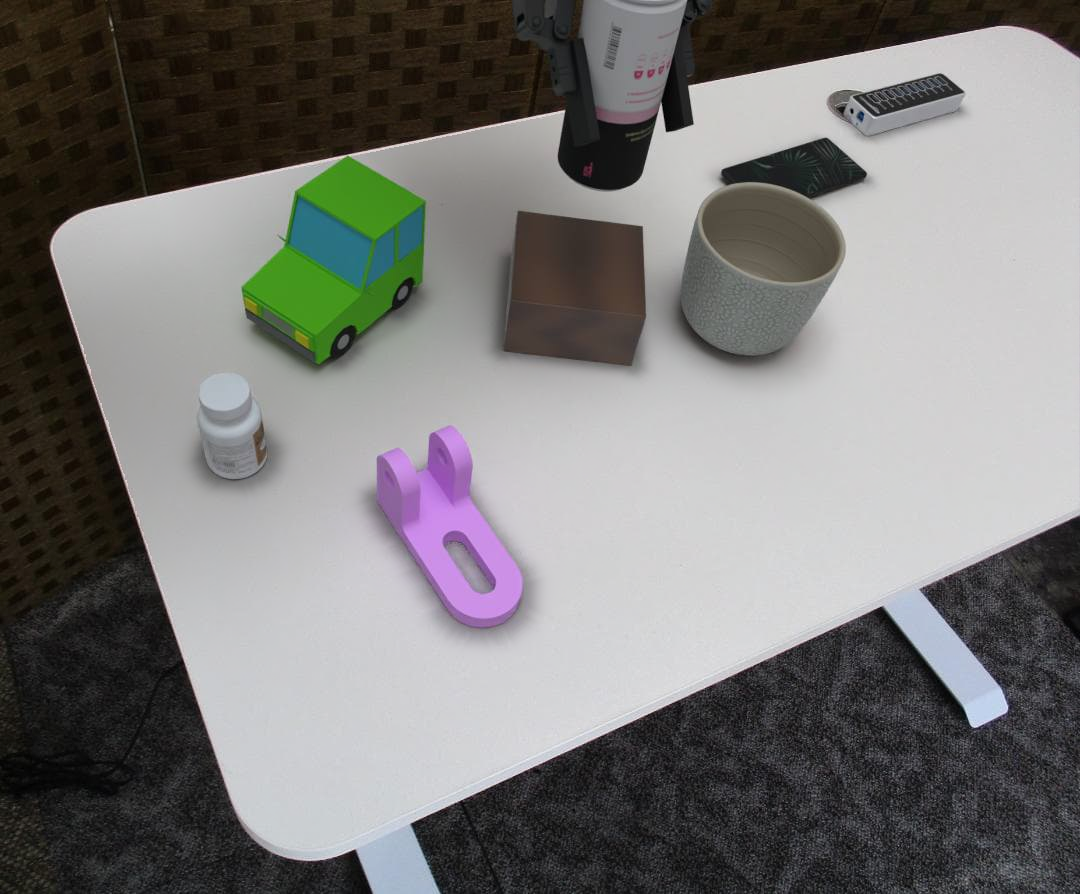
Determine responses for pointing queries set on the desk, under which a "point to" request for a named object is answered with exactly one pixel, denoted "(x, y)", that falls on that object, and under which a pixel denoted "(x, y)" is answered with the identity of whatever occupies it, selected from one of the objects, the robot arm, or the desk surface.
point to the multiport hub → (903, 104)
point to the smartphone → (800, 169)
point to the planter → (758, 266)
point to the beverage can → (622, 88)
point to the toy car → (339, 261)
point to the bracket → (448, 528)
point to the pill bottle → (231, 426)
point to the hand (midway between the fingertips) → (634, 135)
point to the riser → (575, 289)
